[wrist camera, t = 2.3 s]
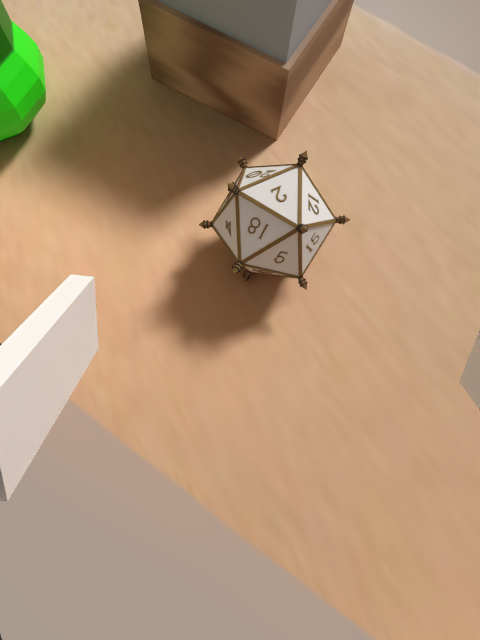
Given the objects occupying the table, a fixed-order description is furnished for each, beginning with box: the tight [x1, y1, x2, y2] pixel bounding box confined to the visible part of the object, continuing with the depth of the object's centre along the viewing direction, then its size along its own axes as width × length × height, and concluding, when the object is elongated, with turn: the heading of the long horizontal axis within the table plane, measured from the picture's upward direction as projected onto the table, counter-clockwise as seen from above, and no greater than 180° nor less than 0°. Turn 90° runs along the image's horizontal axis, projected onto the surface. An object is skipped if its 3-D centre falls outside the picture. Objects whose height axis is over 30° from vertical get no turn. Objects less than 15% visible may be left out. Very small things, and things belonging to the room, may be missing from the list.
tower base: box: [138, 0, 354, 141], centre depth 35 cm, size 12×12×7 cm
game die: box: [199, 151, 350, 290], centre depth 29 cm, size 9×8×10 cm
